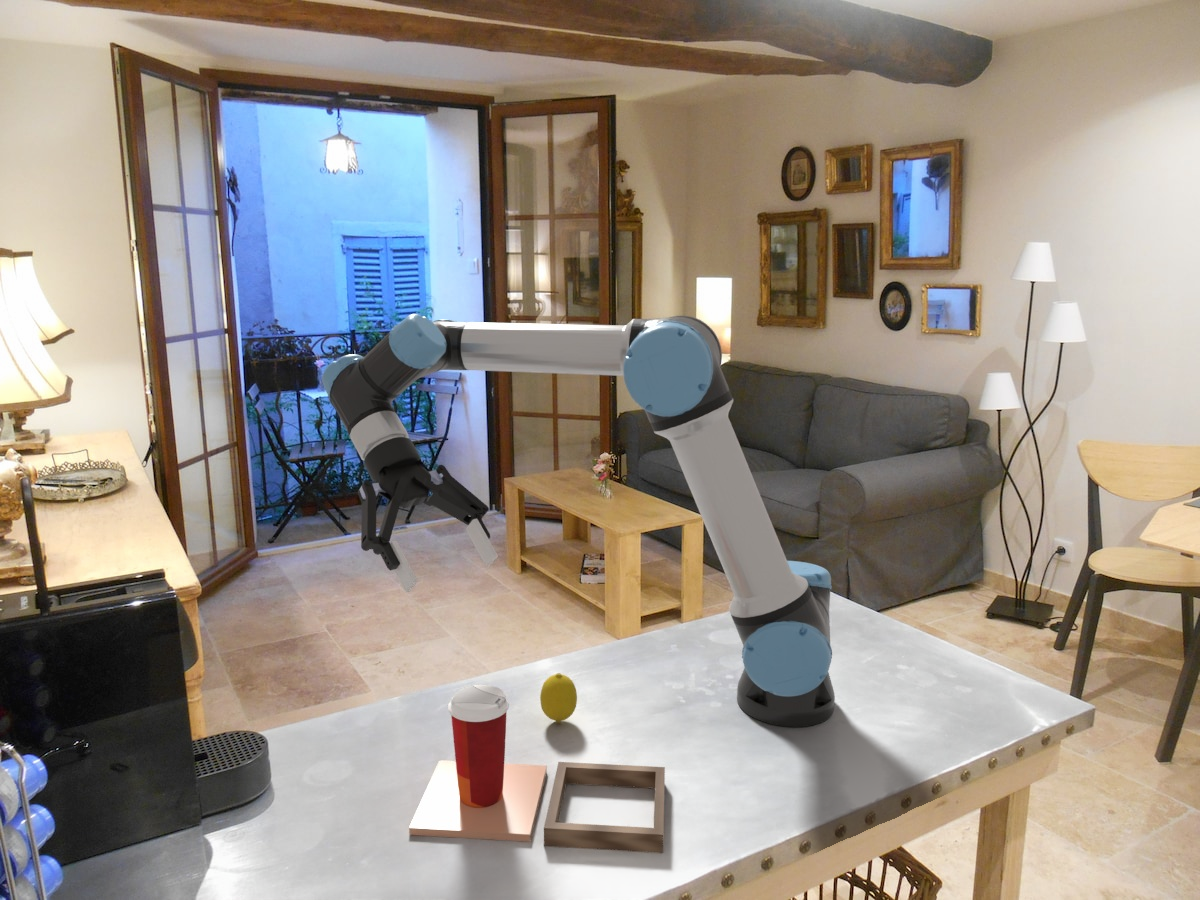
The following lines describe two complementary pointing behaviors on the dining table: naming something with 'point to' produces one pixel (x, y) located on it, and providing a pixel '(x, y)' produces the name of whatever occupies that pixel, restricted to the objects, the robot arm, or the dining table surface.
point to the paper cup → (479, 743)
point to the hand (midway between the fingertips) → (453, 574)
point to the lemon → (558, 697)
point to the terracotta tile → (495, 822)
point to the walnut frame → (605, 834)
